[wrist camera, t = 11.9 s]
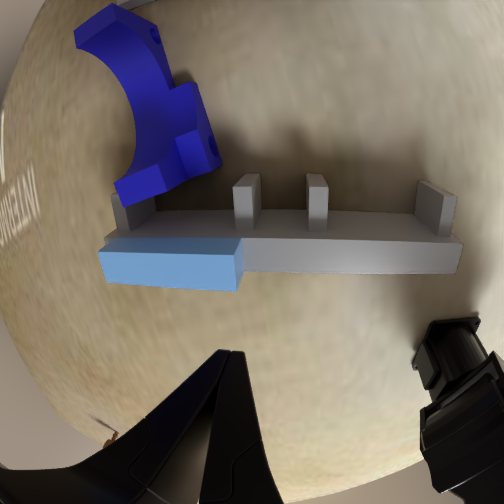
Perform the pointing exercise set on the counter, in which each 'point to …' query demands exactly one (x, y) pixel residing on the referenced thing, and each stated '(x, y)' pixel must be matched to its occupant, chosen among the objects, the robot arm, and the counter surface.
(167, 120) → the cable clip
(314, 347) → the counter surface
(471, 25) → the counter surface
